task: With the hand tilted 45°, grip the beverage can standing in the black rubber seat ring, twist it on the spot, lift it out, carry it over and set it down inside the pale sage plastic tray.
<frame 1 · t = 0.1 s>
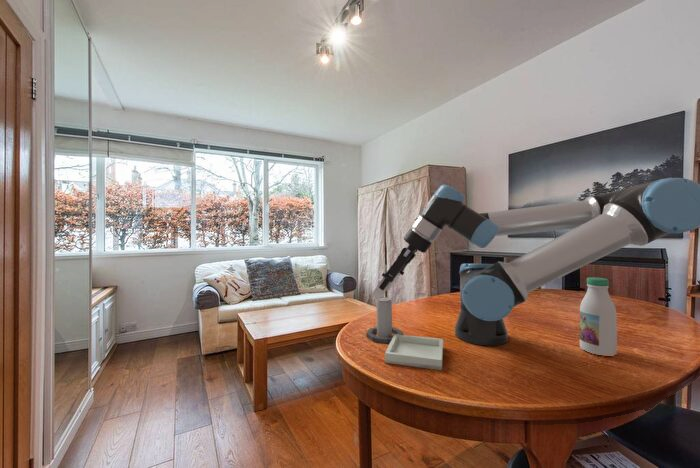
hand: (380, 292, 88), 15 cm above the table, tool tilted 35°, fingers open, 13 cm apart
milk bottle: (597, 352, 79), on the table
beverage can: (384, 336, 93), resting in seat ring
seat ring: (384, 336, 93), on the table
tray: (415, 354, 79), on the table
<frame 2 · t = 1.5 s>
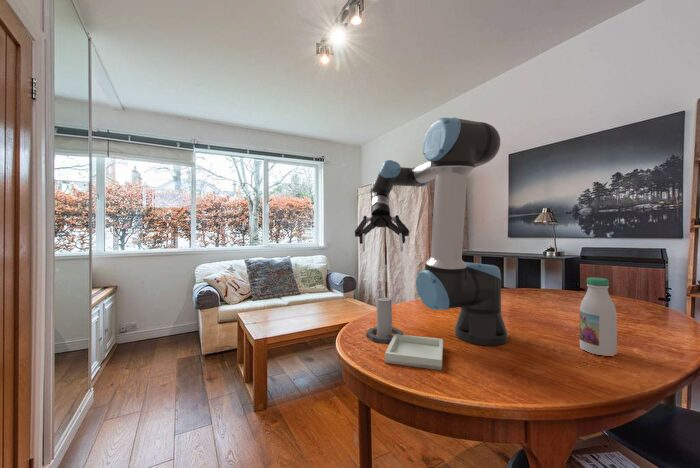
hand: (382, 249, 103), 27 cm above the table, tool tilted 45°, fingers open, 13 cm apart
nothing on the table moved.
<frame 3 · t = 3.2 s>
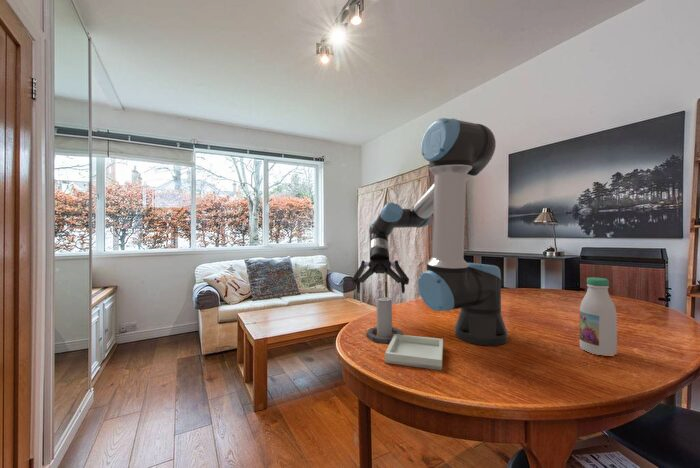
hand: (381, 300, 98), 10 cm above the table, tool tilted 45°, fingers open, 13 cm apart
nothing on the table moved.
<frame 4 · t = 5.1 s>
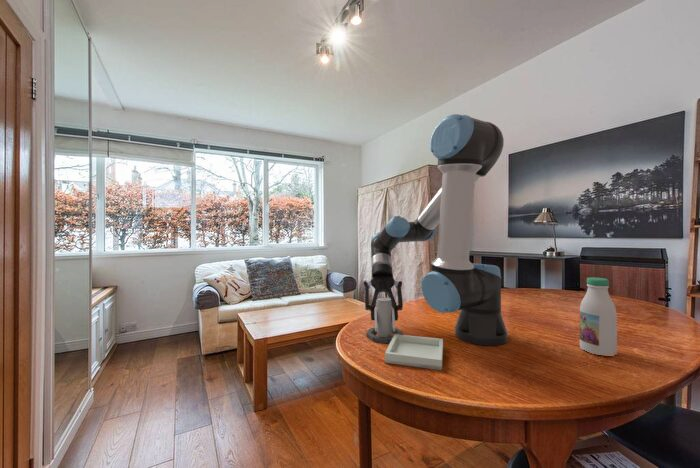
hand: (385, 329, 89), 3 cm above the table, tool tilted 45°, fingers closed on beverage can, 5 cm apart
beverage can: (384, 336, 93), resting in seat ring, touching gripper
everything else where it was.
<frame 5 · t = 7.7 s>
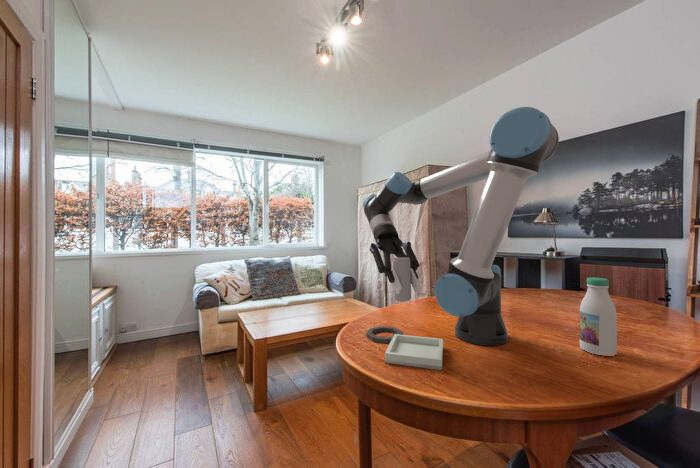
hand: (408, 290, 79), 18 cm above the table, tool tilted 45°, fingers closed on beverage can, 5 cm apart
beverage can: (402, 300, 83), point 14 cm above the table, touching gripper
everything else where it was.
when the fingers open (6 cm above the table, at t = 10.5 s): beverage can drops 1 cm, resting on tray.
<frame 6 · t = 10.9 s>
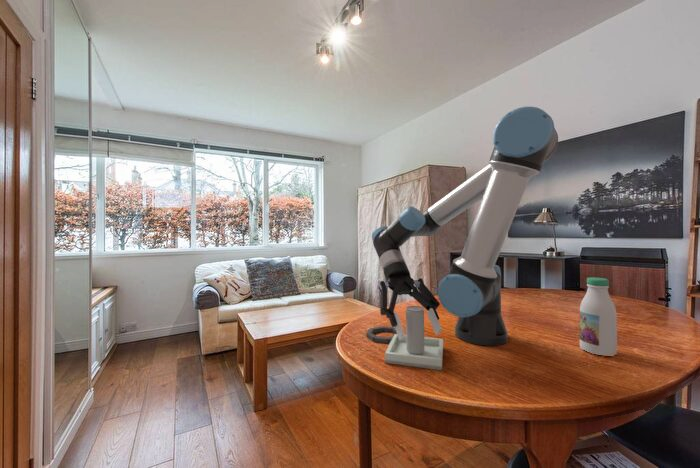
hand: (420, 334, 76), 7 cm above the table, tool tilted 45°, fingers open, 10 cm apart
beverage can: (415, 352, 79), point 1 cm above the table, touching tray
everything else where it was.
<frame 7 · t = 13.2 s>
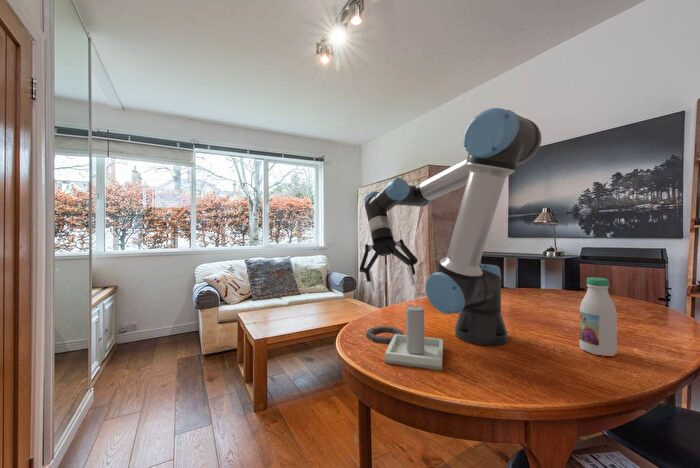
hand: (393, 287, 96), 15 cm above the table, tool tilted 30°, fingers open, 13 cm apart
nothing on the table moved.
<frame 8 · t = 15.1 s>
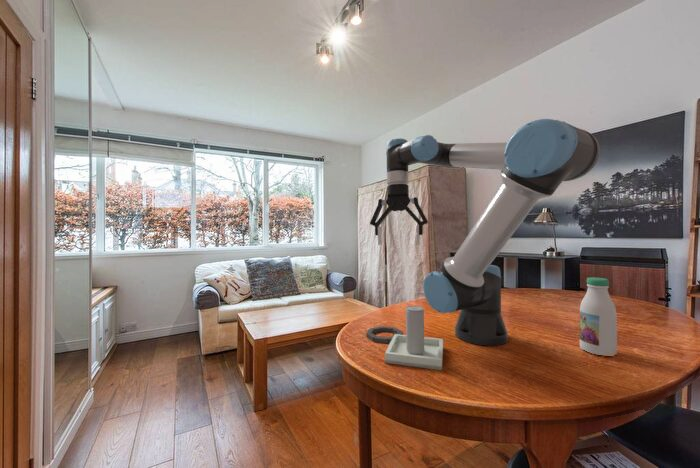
hand: (398, 244, 103), 29 cm above the table, tool pointing down, fingers open, 13 cm apart
nothing on the table moved.
at the end: beverage can inside the target area on the tray (0.1 cm from its centre), point 0.6 cm above the tray's base; beverage can tilted 0°; the gripper is holding nothing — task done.
